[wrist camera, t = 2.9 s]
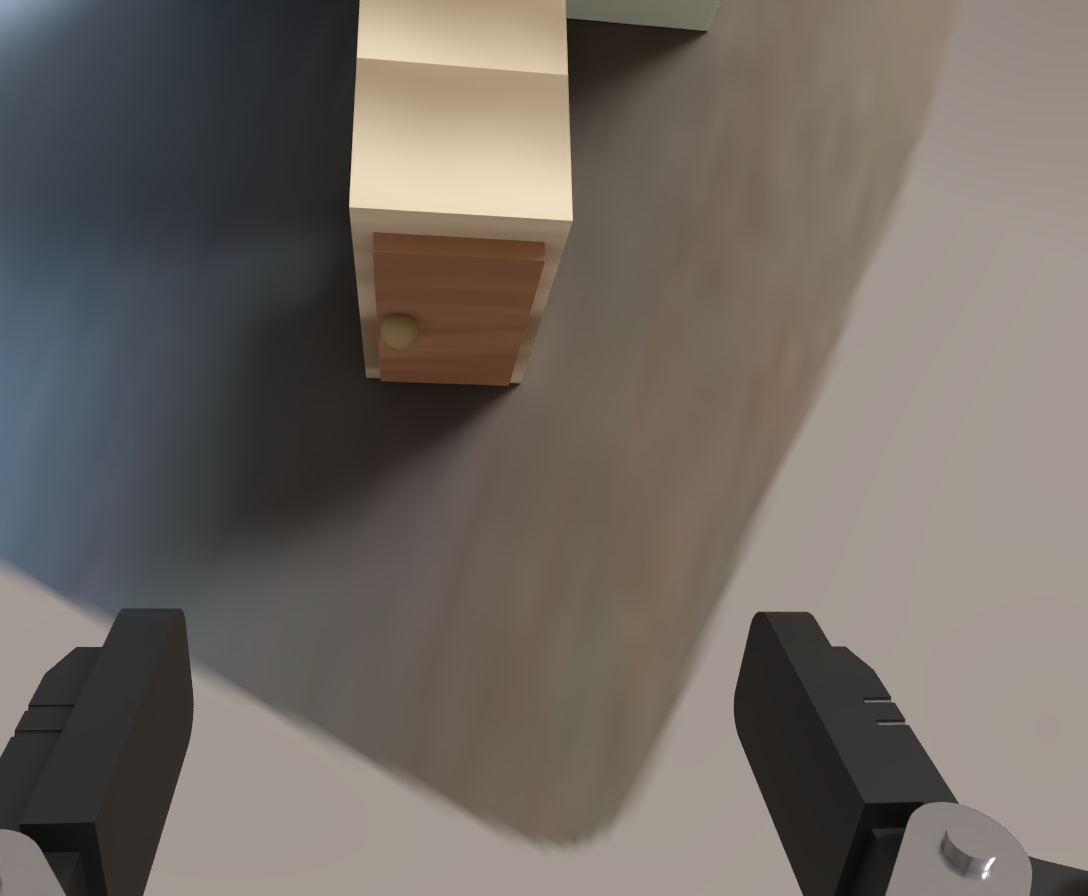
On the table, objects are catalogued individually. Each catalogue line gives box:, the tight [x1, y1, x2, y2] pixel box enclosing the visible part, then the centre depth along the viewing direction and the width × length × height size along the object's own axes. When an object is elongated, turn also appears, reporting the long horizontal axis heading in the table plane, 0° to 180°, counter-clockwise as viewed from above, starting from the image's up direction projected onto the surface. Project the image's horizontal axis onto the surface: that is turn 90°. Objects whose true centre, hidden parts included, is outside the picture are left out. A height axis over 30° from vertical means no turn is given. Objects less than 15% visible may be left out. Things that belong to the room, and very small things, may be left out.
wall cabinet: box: [349, 0, 573, 386], centre depth 27 cm, size 9×5×10 cm, turn 1°
